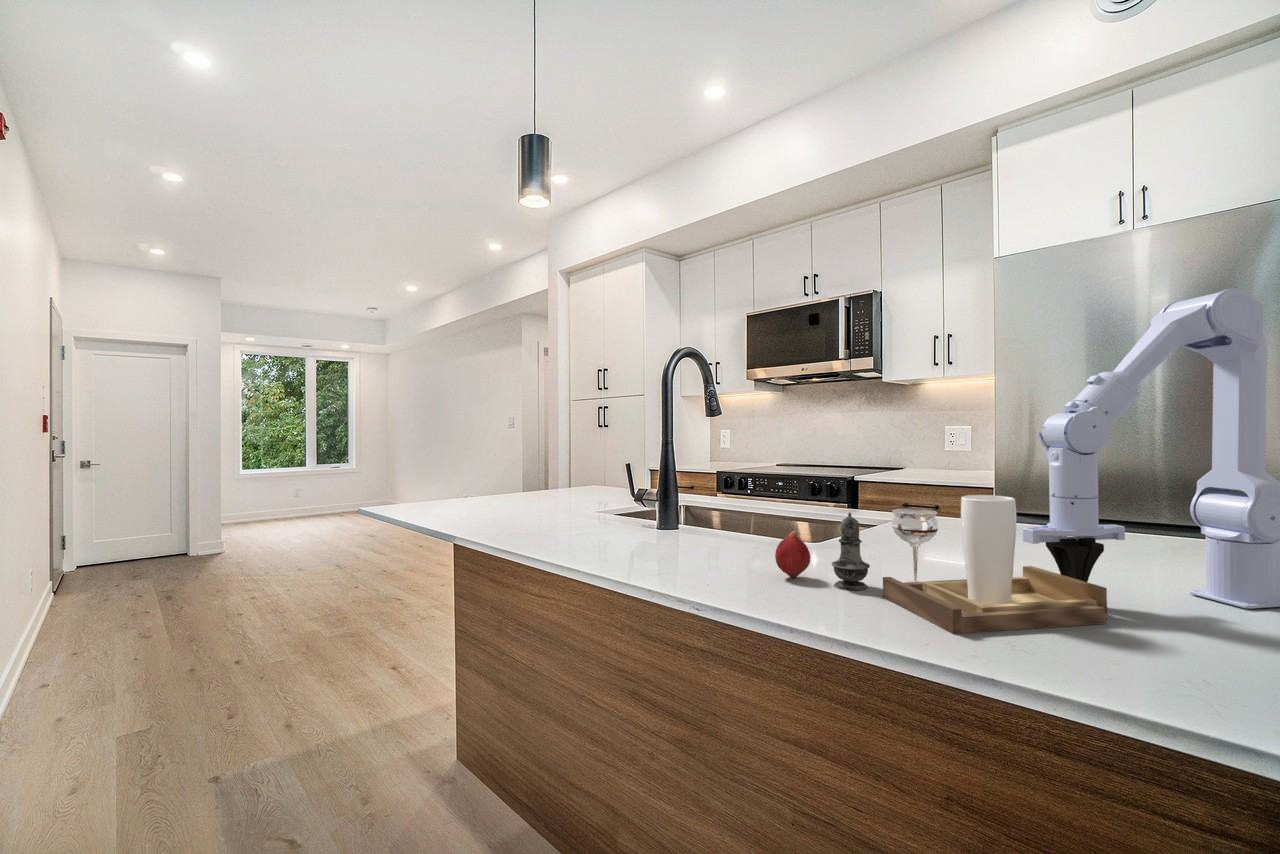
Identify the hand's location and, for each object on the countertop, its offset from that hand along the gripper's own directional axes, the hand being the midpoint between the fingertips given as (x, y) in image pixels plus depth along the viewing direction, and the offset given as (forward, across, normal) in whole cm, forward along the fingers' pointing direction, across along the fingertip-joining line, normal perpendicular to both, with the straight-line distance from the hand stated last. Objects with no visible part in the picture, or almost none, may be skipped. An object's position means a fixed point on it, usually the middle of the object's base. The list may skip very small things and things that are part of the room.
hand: (1074, 591), depth 88 cm
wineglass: (+2, +16, -13) cm, 21 cm away
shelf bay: (+2, +13, 0) cm, 14 cm away
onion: (+2, +33, -22) cm, 40 cm away
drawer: (+2, +10, 0) cm, 10 cm away
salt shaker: (+2, +26, -15) cm, 30 cm away
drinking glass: (+1, +13, 0) cm, 13 cm away
